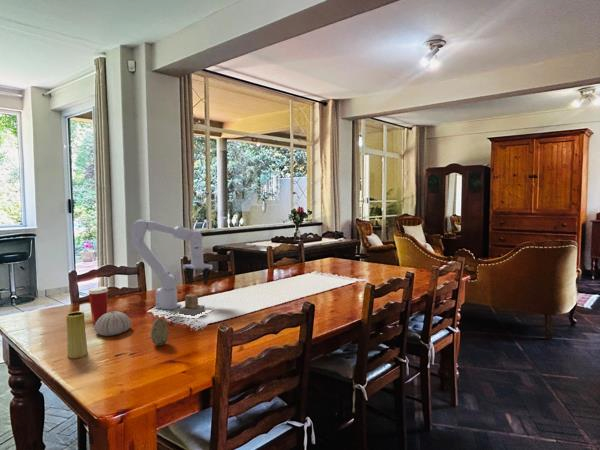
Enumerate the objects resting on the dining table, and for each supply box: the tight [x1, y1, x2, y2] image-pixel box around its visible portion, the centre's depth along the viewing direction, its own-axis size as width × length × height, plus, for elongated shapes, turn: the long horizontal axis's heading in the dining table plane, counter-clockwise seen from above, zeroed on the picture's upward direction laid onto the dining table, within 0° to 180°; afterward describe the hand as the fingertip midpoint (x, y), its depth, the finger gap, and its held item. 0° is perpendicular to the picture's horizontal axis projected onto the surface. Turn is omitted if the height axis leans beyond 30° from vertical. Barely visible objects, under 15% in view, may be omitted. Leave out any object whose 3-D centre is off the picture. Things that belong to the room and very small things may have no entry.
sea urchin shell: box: [93, 310, 132, 337], centre depth 160 cm, size 13×14×8 cm
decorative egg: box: [150, 317, 169, 347], centre depth 146 cm, size 6×6×10 cm
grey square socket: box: [169, 304, 213, 317], centre depth 183 cm, size 14×14×4 cm
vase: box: [65, 311, 89, 359], centre depth 137 cm, size 6×6×14 cm
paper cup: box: [87, 286, 109, 324], centre depth 174 cm, size 8×8×14 cm
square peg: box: [184, 293, 199, 309], centre depth 183 cm, size 4×4×8 cm
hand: (198, 283), depth 197 cm, fingers open, 7 cm apart
